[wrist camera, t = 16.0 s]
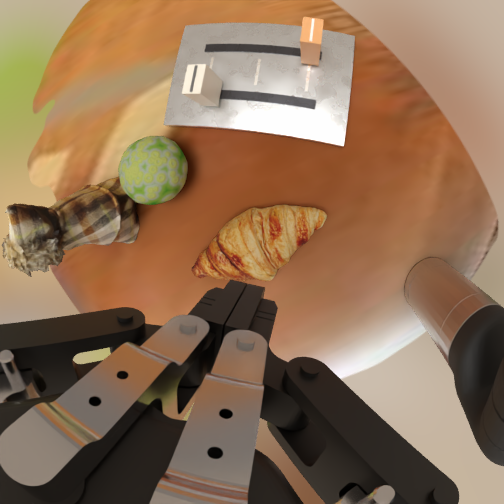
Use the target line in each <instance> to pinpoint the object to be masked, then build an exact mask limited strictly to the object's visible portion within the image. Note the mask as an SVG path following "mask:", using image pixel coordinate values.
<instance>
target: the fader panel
mask: <svg viewBox="0 0 504 504" xmlns="http://www.w3.org/2000/svg"><path fill="white" fill-rule="evenodd" d="M301 30H302V27H301V26H292V25H281V24H266V23H214V24H199V25H188V26H185V30H184V33H183V37H182V41H181V44H180V48H179V52H178V56H177V60H176V65H175V69H174V73H173V78H172V83H171V88H170V93H169V98H168V103H167V109H166V114H165V120H164V125H165V126H169V127H195V128H212V129H225V130H235V131H245V132H254V133H262V134H270V135H277V136H283V137H290V138H296V139H302V140H307V141H313V142H318V143H323V144H328V145H333V146H337V147H343V146H344V141H345V133H346V126H347V118H348V110H349V101H350V92H351V82H352V70H353V57H354V41H355V36H352V35H348V34H343V33H338V32H333V31H328V30H323V31H322V41H321V50H320V58H319V66H316V65H310V64H303V63H301V50H300V38H301ZM192 64H207V65H208V66H209V67H210V68H211V69H212V70H213V71H214V73H215V74H216V75H217V76H218V77H219V78H220V79H221V80H222V81H223V82H222V88H221V93H220V99H219V105H218V107H216V106H201V105H200V104H198V103H197V102H195V101H193V100H192V99H190V98H188V97H187V96H185V95H183V94H182V90H183V85H184V80H185V75H186V71H187V66H188V65H192Z"/></svg>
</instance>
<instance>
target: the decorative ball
mask: <svg viewBox="0 0 504 504" xmlns="http://www.w3.org/2000/svg"><path fill="white" fill-rule="evenodd" d="M118 171H119V178H120V183H121V186H122V188H123V190H124V192H125V193H126V194H127V195H128V196H129V197H130V198H132V199H133V200H134V201H136V202H137V203H141V204H147V205H155V204H160V203H164V202H166V201H169V200H171V199H173V198H174V197H175V196H176V195H177V194H178V193H179V192H180V190H181V189H182V188H183V186H184V184H185V181H186V178H187V171H188V163H187V161H186V158H185V156H184V154H183V152H182V150H181V149H180V147H179V146H178V145H177V144H176V142H174V141H172V140H170V139H168V138H166V137H164V136H149V137H145V138H143V139H140V140H138V141H136V142H134V143H133V144H131V145H130V146H129V147H128V148H127V150H126V151H125V152H124V154H123V156H122V158H121V161H120V164H119V168H118Z"/></svg>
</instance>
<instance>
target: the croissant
mask: <svg viewBox="0 0 504 504" xmlns="http://www.w3.org/2000/svg"><path fill="white" fill-rule="evenodd" d="M326 218H327V215H326V214H325V212H324V211H322V210H320V209H316V208H311V207H300V206H288V205H275V206H274V207H267V208H263V209H258V208H250V209H248V210H246V211H244V212H243V213H241V214H239V215H238V216H236V217H235V218H233V219H232V220H230V221H229V222H228V223H226V224H225V225H224V226H223V227H222V229H221V230H220V231H219V232H218V234H217V236H216V237H215V238H214V239H213V240H212V241H211V243H210V244H209V246H208V248H207V249H206V250H204V251H202V252H201V253H200V254H199V256H198V259H197V261H196V263H195V265H194V266H193V267H192V272H193V274H194V275H195V276H196V277H199V278H202V277H205V276H208V275H209V276H210V277H212V278H215V279H226V280H228V279H237V280H242V281H247V280H251V279H258V280H262V281H270V280H272V279H273V278H274V276H275V275H276V273H277V270H278V269H279V268H281V267H282V266H284V265H285V264H287V263H288V262H289V260H290V257H291V255H293V253H294V252H295V251H296V249H298V248H299V247H301V246H302V245H303V244H305V243H306V242H307V241H308V240H309V238H310V236H311V235H312V234H313V233H314V230H317V229H319V228H320V227H322V226H323V223H324V221H325V220H326Z"/></svg>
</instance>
